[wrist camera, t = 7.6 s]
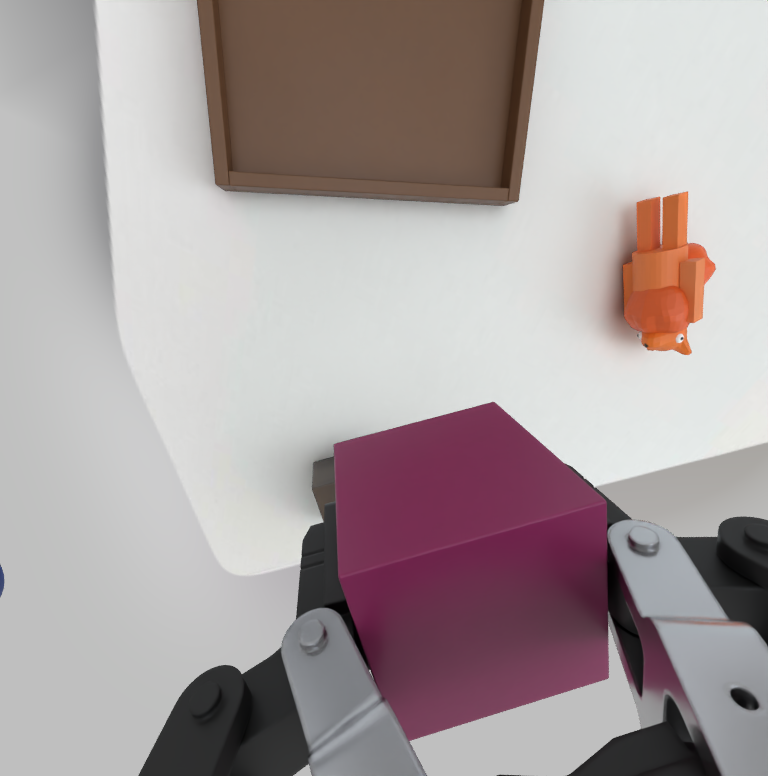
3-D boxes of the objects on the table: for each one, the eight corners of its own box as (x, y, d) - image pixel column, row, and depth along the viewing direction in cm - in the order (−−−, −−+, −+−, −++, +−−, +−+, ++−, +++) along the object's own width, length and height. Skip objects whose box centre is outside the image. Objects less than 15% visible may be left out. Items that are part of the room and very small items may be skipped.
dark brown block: (332, 517, 35) (333, 549, 31) (313, 462, 33) (311, 488, 29) (395, 499, 35) (404, 528, 31) (380, 443, 33) (387, 467, 29)
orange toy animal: (679, 196, 24) (675, 372, 28) (742, 175, 27) (730, 339, 31) (603, 211, 28) (609, 361, 32) (663, 192, 31) (662, 333, 35)
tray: (224, 190, 25) (215, 184, 23) (196, -111, 21) (180, -154, 18) (503, 205, 28) (518, 201, 26) (534, -56, 23) (556, -88, 21)
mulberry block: (371, 569, 13) (396, 746, 8) (333, 443, 11) (337, 577, 7) (510, 530, 13) (609, 679, 9) (494, 400, 12) (607, 500, 7)
